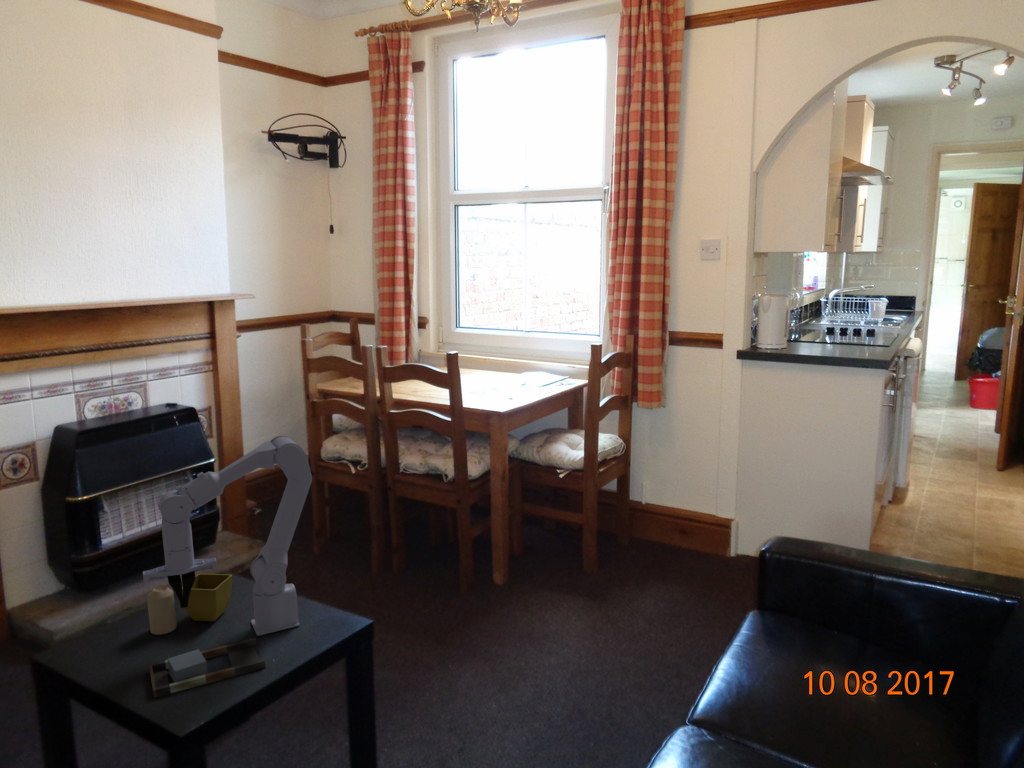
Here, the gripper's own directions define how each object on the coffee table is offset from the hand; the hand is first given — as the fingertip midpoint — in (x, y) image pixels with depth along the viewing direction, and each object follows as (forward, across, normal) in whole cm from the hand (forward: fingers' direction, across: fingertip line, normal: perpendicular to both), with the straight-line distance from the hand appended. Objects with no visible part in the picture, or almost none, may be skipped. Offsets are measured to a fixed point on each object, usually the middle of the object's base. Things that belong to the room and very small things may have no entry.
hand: (184, 605), depth 161 cm
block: (+10, +1, +12) cm, 16 cm away
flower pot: (+10, -6, -12) cm, 16 cm away
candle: (+10, +4, -11) cm, 15 cm away
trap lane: (+9, -2, +12) cm, 16 cm away
